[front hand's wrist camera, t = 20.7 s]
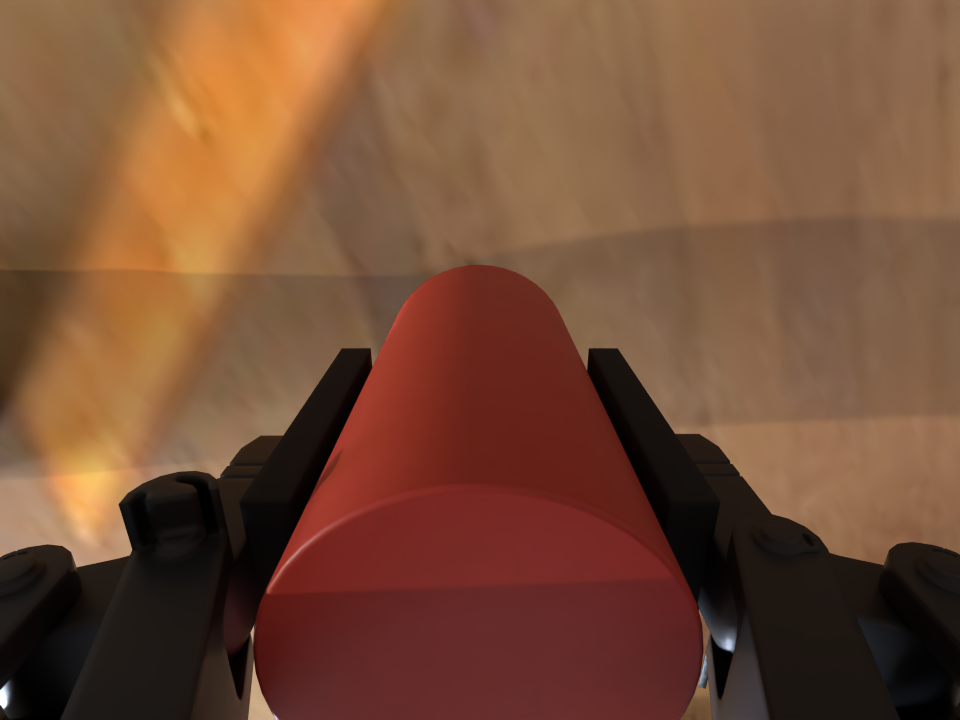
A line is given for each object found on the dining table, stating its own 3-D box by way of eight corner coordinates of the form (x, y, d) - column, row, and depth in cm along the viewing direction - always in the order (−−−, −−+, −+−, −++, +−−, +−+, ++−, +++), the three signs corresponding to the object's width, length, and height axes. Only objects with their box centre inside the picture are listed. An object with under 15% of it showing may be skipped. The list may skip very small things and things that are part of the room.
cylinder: (604, 337, 17) (803, 645, 7) (494, 458, 19) (512, 858, 8) (461, 225, 16) (424, 388, 5) (356, 366, 18) (171, 703, 7)
